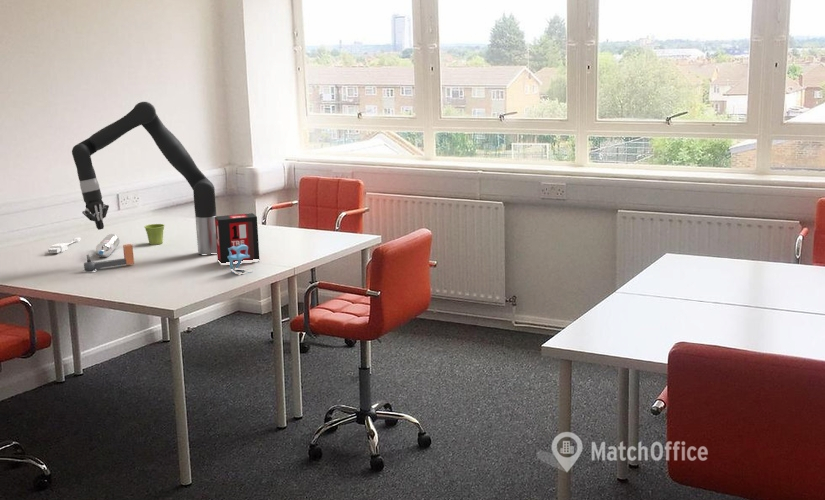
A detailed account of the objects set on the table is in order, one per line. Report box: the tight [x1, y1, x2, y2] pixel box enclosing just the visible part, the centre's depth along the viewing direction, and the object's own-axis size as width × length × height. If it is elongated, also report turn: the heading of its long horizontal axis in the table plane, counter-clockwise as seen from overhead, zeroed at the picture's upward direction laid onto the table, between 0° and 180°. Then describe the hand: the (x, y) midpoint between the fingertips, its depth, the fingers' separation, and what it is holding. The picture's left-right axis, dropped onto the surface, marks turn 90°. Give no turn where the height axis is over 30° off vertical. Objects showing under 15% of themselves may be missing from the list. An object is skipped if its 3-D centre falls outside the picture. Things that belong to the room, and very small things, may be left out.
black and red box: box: [215, 212, 260, 263], centre depth 387 cm, size 16×9×20 cm, turn 111°
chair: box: [227, 244, 250, 270], centre depth 370 cm, size 8×8×12 cm
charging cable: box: [47, 237, 82, 254], centre depth 424 cm, size 5×32×3 cm, turn 0°
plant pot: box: [143, 223, 166, 246], centre depth 427 cm, size 9×9×9 cm
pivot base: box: [82, 254, 99, 274], centre depth 377 cm, size 6×6×7 cm
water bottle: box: [94, 233, 120, 259], centre depth 409 cm, size 7×7×25 cm
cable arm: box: [83, 243, 135, 271], centre depth 381 cm, size 20×4×8 cm, turn 122°
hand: (100, 229), depth 387 cm, fingers closed
